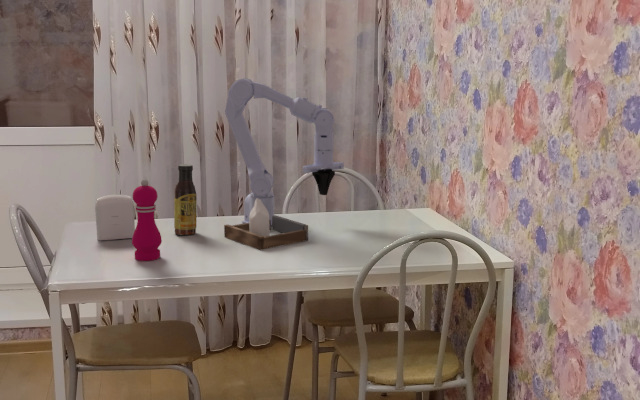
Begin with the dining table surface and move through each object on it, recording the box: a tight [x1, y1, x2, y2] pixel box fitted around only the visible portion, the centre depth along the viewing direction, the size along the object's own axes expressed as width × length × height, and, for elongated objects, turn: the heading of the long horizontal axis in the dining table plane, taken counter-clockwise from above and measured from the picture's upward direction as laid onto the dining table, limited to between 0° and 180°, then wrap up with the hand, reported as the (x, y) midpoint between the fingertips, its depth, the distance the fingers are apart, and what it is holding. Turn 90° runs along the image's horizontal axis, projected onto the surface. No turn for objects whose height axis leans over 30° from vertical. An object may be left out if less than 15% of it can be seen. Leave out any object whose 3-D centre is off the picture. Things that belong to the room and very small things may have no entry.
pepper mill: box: [131, 178, 163, 262], centre depth 175 cm, size 7×7×20 cm
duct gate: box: [271, 214, 307, 233], centre depth 202 cm, size 15×1×4 cm, turn 39°
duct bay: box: [223, 220, 309, 251], centre depth 197 cm, size 17×17×4 cm
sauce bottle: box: [173, 163, 198, 236], centre depth 200 cm, size 6×6×20 cm
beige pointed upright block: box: [249, 198, 271, 237], centre depth 194 cm, size 6×12×6 cm
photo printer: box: [94, 194, 136, 242], centre depth 195 cm, size 10×4×12 cm, turn 108°
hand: (323, 194), depth 212 cm, fingers closed
